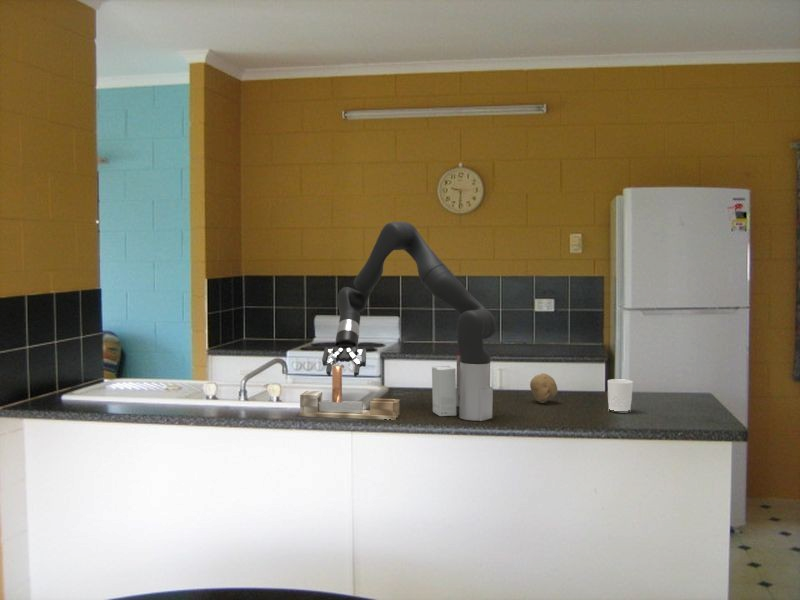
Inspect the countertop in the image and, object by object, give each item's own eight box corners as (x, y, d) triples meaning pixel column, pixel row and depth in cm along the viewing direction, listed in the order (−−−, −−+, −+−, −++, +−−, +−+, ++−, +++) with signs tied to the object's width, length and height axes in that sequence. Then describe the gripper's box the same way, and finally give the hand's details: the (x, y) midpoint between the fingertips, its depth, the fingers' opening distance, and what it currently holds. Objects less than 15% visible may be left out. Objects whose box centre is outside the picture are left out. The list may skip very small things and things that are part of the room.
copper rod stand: (363, 411, 252) (363, 366, 251) (361, 413, 249) (361, 367, 248) (312, 409, 254) (313, 364, 253) (310, 411, 251) (310, 366, 250)
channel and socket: (399, 414, 253) (399, 393, 253) (396, 419, 245) (396, 398, 245) (305, 411, 257) (305, 390, 257) (298, 416, 249) (298, 394, 249)
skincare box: (456, 416, 252) (457, 368, 251) (438, 416, 250) (438, 369, 250) (449, 410, 260) (449, 364, 259) (430, 411, 259) (431, 365, 258)
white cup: (615, 408, 267) (615, 378, 266) (636, 412, 261) (637, 381, 260) (602, 411, 261) (602, 380, 261) (624, 415, 256) (624, 383, 255)
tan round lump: (549, 399, 281) (549, 371, 280) (562, 404, 273) (562, 375, 272) (525, 401, 278) (526, 372, 278) (537, 405, 270) (538, 376, 269)
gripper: (325, 328, 271) (319, 367, 260) (367, 329, 270) (363, 368, 259) (327, 342, 276) (321, 381, 266) (369, 343, 275) (364, 382, 265)
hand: (342, 375), depth 262 cm, fingers open, 8 cm apart
